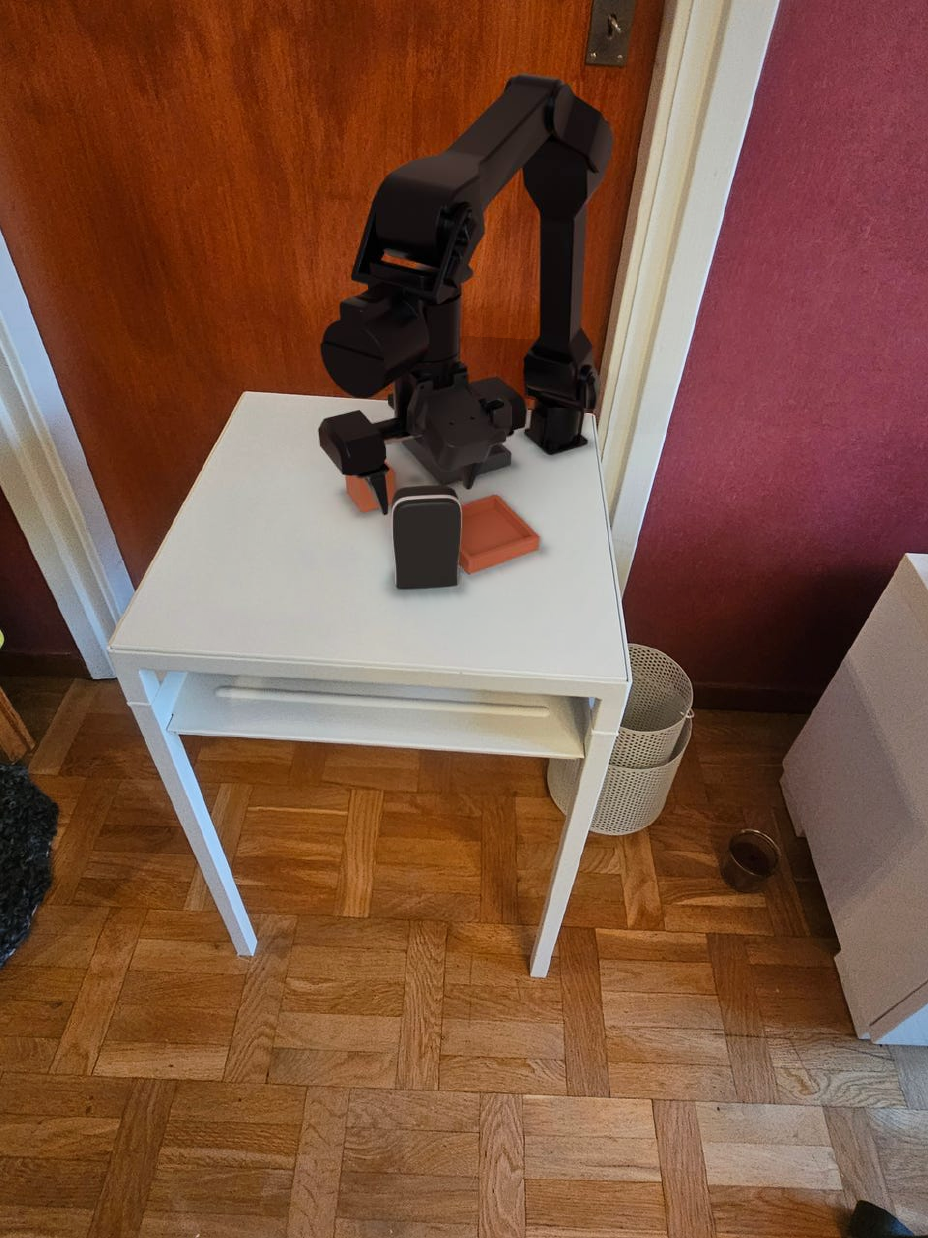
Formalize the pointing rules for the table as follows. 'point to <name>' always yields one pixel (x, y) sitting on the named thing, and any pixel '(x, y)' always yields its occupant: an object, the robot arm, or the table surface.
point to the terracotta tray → (492, 534)
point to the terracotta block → (368, 491)
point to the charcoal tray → (495, 460)
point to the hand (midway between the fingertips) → (426, 499)
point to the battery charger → (426, 536)
